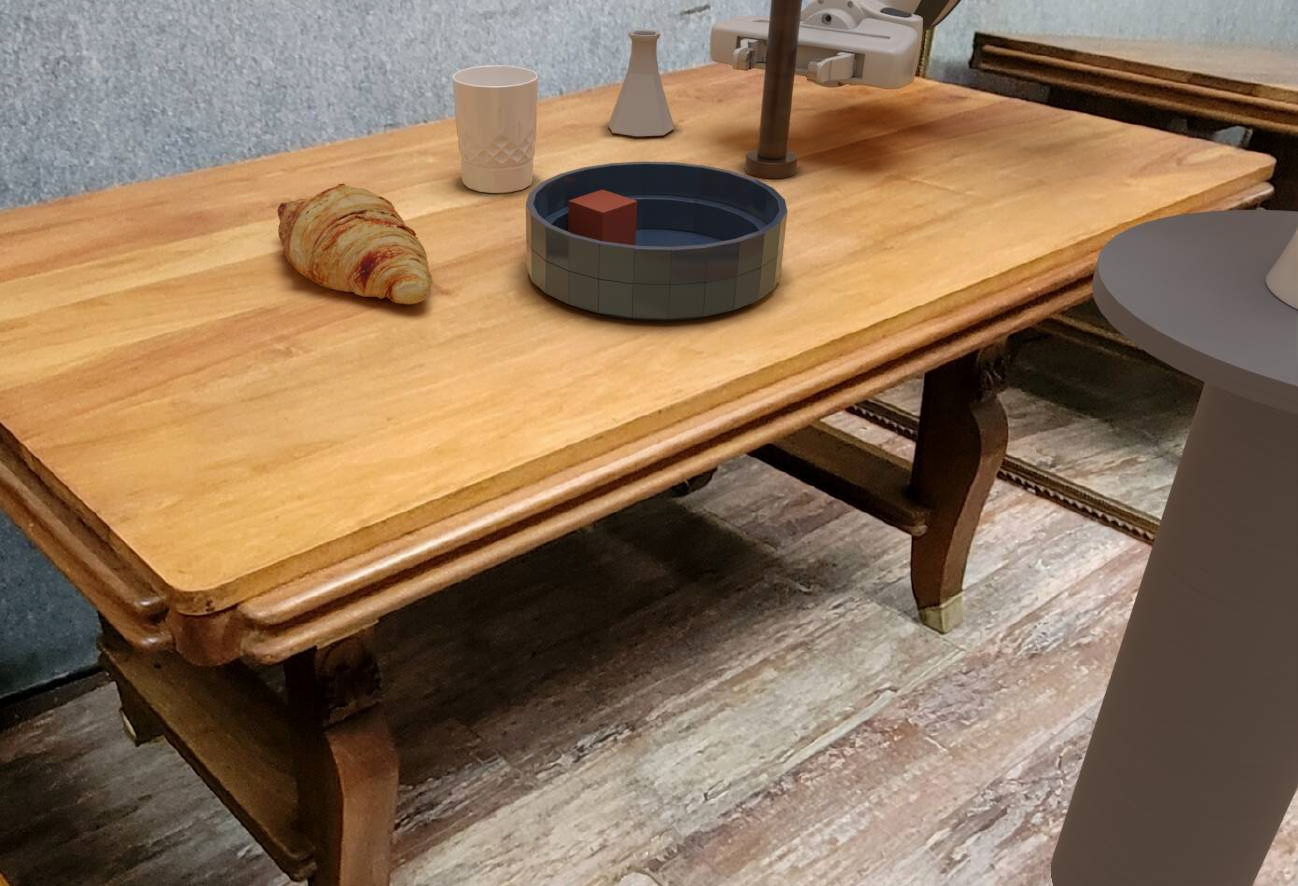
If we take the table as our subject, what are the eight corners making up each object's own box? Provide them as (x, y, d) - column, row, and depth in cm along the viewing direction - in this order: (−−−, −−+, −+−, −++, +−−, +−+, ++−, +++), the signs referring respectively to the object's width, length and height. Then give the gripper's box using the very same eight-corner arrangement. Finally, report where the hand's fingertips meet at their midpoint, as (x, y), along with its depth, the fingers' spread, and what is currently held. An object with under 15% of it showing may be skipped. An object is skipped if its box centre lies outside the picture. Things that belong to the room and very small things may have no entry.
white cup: (548, 173, 121) (548, 68, 116) (524, 199, 115) (523, 89, 110) (473, 166, 123) (469, 62, 118) (444, 191, 117) (439, 82, 111)
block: (635, 247, 103) (637, 200, 101) (602, 260, 101) (603, 212, 99) (601, 235, 106) (602, 189, 104) (568, 246, 103) (568, 200, 101)
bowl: (821, 261, 102) (829, 190, 99) (700, 349, 88) (706, 270, 85) (614, 213, 112) (616, 147, 109) (477, 286, 98) (474, 212, 95)
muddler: (804, 169, 122) (826, -27, 113) (780, 182, 119) (801, -19, 109) (760, 159, 125) (777, -33, 115) (735, 172, 122) (751, -25, 112)
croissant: (458, 344, 97) (495, 247, 95) (356, 320, 89) (394, 214, 87) (317, 260, 110) (346, 174, 108) (218, 233, 103) (248, 140, 101)
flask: (671, 140, 130) (676, 41, 125) (603, 137, 132) (605, 38, 126) (677, 121, 136) (682, 25, 131) (612, 118, 137) (614, 23, 132)
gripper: (748, -6, 129) (681, 17, 119) (939, 18, 119) (883, 45, 109) (743, 57, 132) (677, 85, 122) (928, 85, 122) (873, 118, 113)
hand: (776, 66), depth 116 cm, fingers open, 6 cm apart
